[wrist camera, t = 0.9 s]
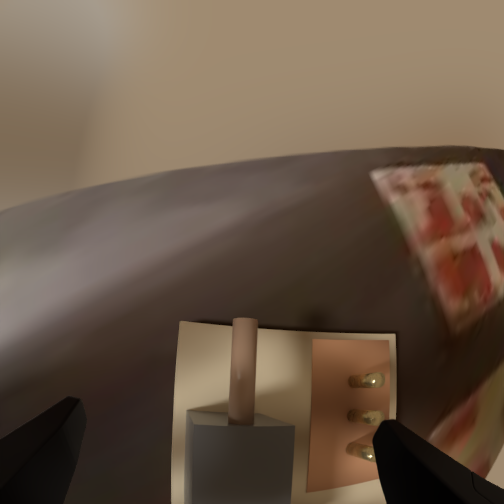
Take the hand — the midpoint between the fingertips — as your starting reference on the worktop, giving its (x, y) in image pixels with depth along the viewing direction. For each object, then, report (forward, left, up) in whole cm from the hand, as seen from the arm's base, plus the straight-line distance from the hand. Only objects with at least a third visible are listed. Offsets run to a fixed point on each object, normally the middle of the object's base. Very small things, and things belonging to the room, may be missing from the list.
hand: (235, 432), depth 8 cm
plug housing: (-3, -2, -11) cm, 11 cm away
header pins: (-1, -11, -11) cm, 15 cm away
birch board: (-3, -6, -12) cm, 14 cm away
